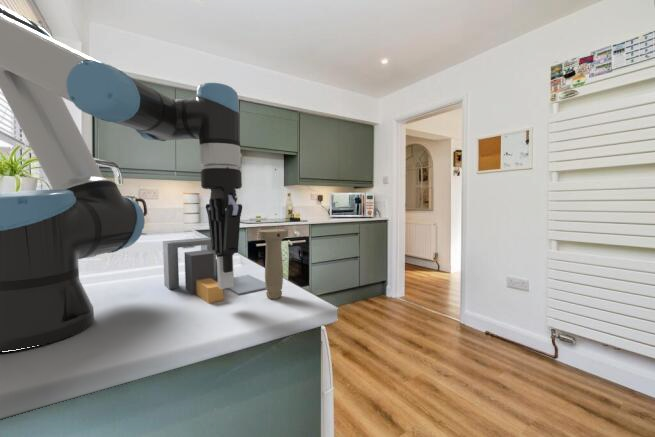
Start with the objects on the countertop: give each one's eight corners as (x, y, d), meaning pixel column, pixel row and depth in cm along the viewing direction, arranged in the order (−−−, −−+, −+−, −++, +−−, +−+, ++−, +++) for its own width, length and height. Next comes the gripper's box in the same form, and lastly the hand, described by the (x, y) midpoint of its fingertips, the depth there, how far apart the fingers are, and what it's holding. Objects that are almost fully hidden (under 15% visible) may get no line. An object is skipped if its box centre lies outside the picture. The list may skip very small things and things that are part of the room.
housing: (169, 289, 72) (167, 243, 72) (164, 285, 76) (162, 241, 75) (227, 279, 82) (226, 238, 81) (220, 275, 85) (219, 236, 85)
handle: (256, 297, 67) (255, 230, 66) (281, 291, 71) (281, 228, 70) (265, 303, 63) (264, 232, 62) (292, 297, 67) (291, 230, 66)
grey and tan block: (227, 299, 66) (226, 258, 65) (203, 304, 63) (202, 261, 62) (205, 284, 77) (204, 249, 76) (184, 287, 74) (183, 251, 73)
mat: (238, 295, 69) (238, 293, 68) (216, 281, 79) (216, 280, 79) (273, 287, 74) (273, 285, 74) (248, 276, 85) (248, 274, 85)
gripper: (254, 166, 56) (258, 290, 58) (227, 172, 66) (231, 277, 68) (213, 164, 51) (219, 299, 53) (191, 170, 61) (196, 284, 63)
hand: (226, 287), depth 60 cm, fingers closed
